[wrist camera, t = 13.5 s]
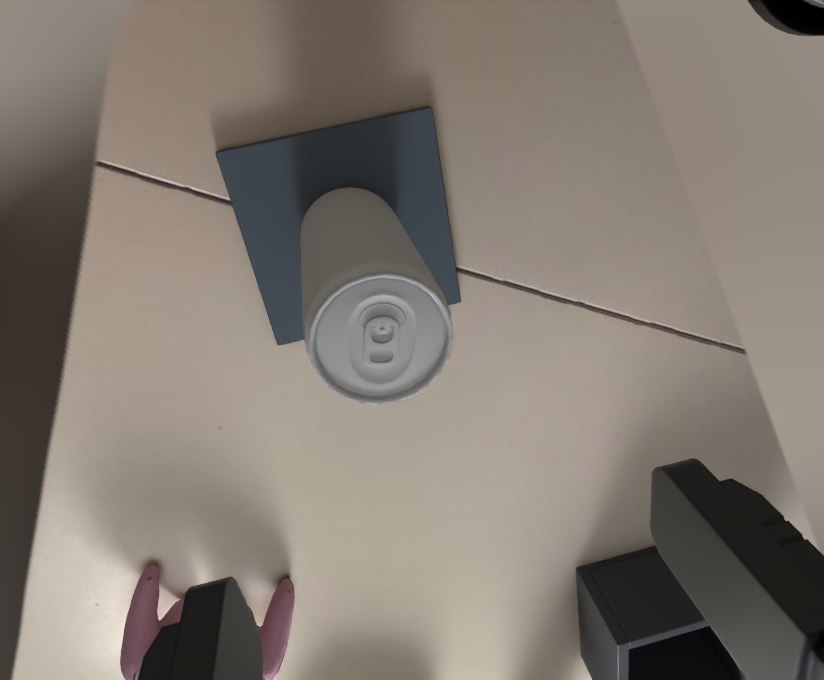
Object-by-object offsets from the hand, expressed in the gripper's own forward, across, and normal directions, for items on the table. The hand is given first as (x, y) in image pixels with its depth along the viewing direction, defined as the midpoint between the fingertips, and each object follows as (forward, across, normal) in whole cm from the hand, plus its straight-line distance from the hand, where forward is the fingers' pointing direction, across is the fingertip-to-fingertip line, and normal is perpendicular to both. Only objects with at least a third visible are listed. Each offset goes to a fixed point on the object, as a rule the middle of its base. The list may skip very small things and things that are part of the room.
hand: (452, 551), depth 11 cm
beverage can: (+21, 0, 0) cm, 21 cm away
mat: (+21, 0, 0) cm, 21 cm away
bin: (+21, -16, +34) cm, 43 cm away
